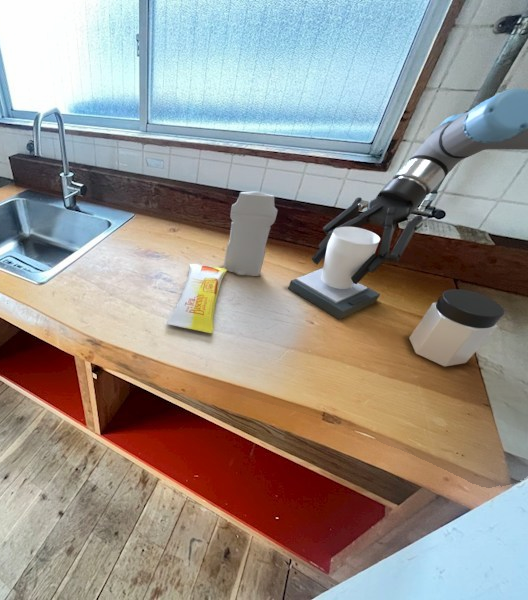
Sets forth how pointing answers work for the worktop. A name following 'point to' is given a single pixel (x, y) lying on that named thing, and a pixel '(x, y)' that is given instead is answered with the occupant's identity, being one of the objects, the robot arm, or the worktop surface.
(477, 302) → the jar
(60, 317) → the worktop surface
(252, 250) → the tall pale column
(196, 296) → the food package
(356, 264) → the cup
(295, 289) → the scale
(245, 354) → the worktop surface
